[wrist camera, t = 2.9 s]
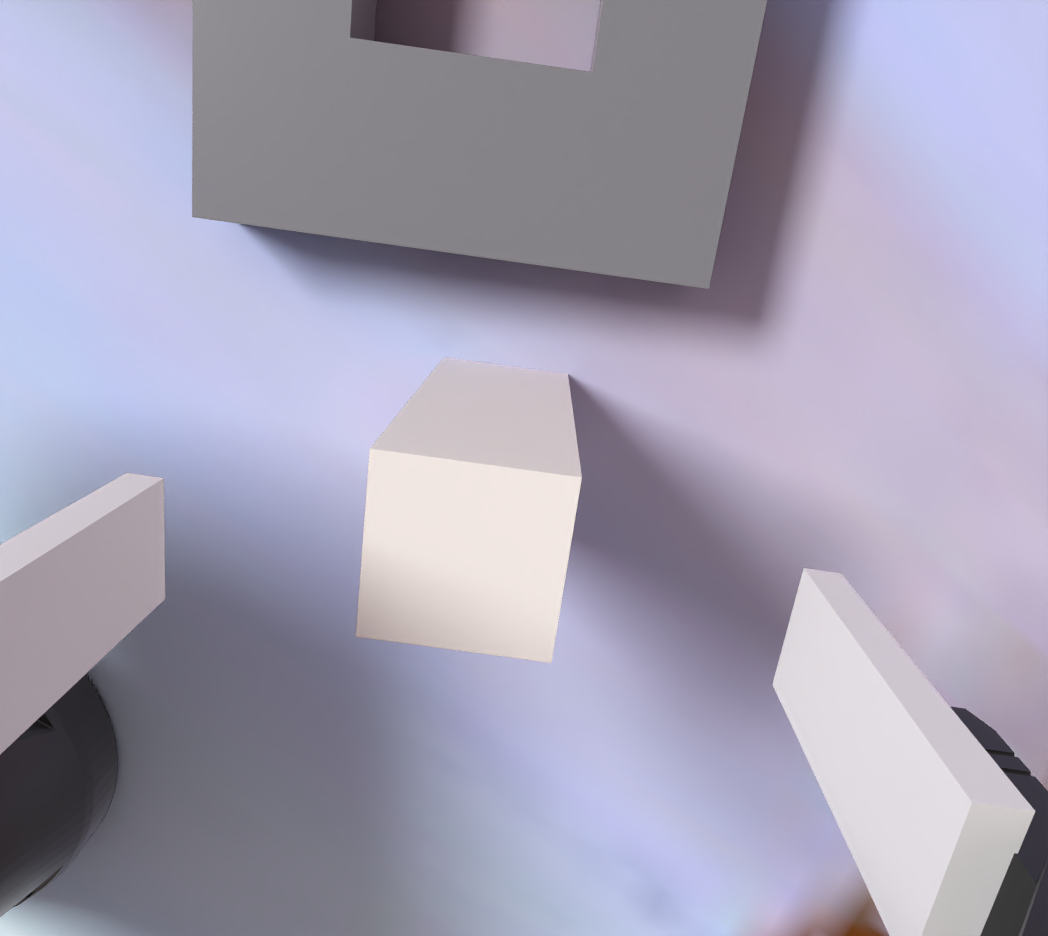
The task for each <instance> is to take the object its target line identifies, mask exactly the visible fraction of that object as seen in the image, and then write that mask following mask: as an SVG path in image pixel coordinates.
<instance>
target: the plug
mask: <svg viewBox="0 0 1048 936" xmlns="http://www.w3.org/2000/svg"><path fill="white" fill-rule="evenodd" d="M581 480H582V474H581V467H580V459H579V452H578V445H577V437H576V430H575V422H574V415H573V408H572V400H571V393H570V385H569V378H568V374H565V373H558V372H551V371H543V370H536V369H529V368H522V367H514V366H507V365H500V364H493V363H485V362H478V361H471V360H464V359H456V358H449V357H444V358H443V359H442V360H441V361H440V362H439V364H438V365H437V366H436V367H435V369H434V370H433V371H432V372H431V374H430V375H429V376H428V377H427V379H426V380H425V381H424V382H423V383H422V385H421V386H420V387H419V388H418V390H417V391H416V392H415V393H414V395H413V396H412V397H411V398H410V400H409V401H408V402H407V403H406V404H405V406H404V407H403V408H402V409H401V411H400V412H399V413H398V414H397V416H396V417H395V418H394V419H393V421H392V422H391V423H390V424H389V426H388V427H387V428H386V429H385V430H384V432H383V433H382V434H381V435H380V437H379V438H378V439H377V440H376V442H375V443H374V444H373V445H372V447H371V448H370V453H369V466H368V480H367V493H366V506H365V520H364V533H363V546H362V559H361V573H360V586H359V599H358V613H357V626H356V637H361V638H369V639H376V640H384V641H391V642H399V643H406V644H414V645H421V646H429V647H436V648H444V649H451V650H459V651H466V652H474V653H481V654H489V655H496V656H504V657H511V658H519V659H526V660H533V661H541V662H548V663H551V662H552V656H553V650H554V644H555V638H556V632H557V626H558V620H559V614H560V608H561V602H562V596H563V589H564V583H565V577H566V571H567V565H568V559H569V553H570V547H571V541H572V535H573V529H574V523H575V517H576V511H577V504H578V498H579V492H580V486H581Z"/></svg>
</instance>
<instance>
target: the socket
mask: <svg viewBox="0 0 1048 936" xmlns="http://www.w3.org/2000/svg"><path fill="white" fill-rule="evenodd" d="M766 4H767V0H601V2H600V9H599V16H598V23H597V29H596V36H595V43H594V50H593V57H592V64H591V71H590V72H588V71H581V70H574V69H567V68H560V67H553V66H546V65H539V64H532V63H525V62H518V61H511V60H504V59H497V58H490V57H483V56H476V55H469V54H462V53H455V52H447V51H440V50H433V49H426V48H419V47H412V46H405V45H398V44H391V43H384V42H377V41H374V36H375V21H376V5H377V0H193V160H192V217H196V218H203V219H211V220H218V221H225V222H232V223H239V224H246V225H254V226H261V227H268V228H275V229H282V230H289V231H297V232H304V233H311V234H318V235H325V236H332V237H340V238H347V239H354V240H361V241H368V242H376V243H383V244H390V245H397V246H404V247H411V248H419V249H426V250H433V251H440V252H447V253H454V254H462V255H469V256H476V257H483V258H490V259H497V260H505V261H512V262H519V263H526V264H533V265H540V266H548V267H555V268H562V269H569V270H576V271H583V272H591V273H598V274H605V275H612V276H619V277H626V278H634V279H641V280H648V281H655V282H662V283H670V284H677V285H684V286H691V287H698V288H705V289H709V286H710V281H711V276H712V271H713V266H714V261H715V257H716V252H717V247H718V242H719V237H720V232H721V227H722V222H723V217H724V212H725V207H726V202H727V197H728V192H729V187H730V182H731V177H732V172H733V167H734V162H735V158H736V153H737V148H738V143H739V138H740V133H741V128H742V123H743V118H744V113H745V108H746V103H747V98H748V93H749V88H750V83H751V78H752V73H753V68H754V63H755V58H756V54H757V49H758V44H759V39H760V34H761V29H762V24H763V19H764V14H765V9H766Z"/></svg>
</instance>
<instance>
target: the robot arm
mask: <svg viewBox="0 0 1048 936" xmlns="http://www.w3.org/2000/svg"><path fill="white" fill-rule="evenodd" d="M164 600H165V535H164V478H160V477H153V476H146V475H139V474H132V473H125V474H124V475H122V476H120V477H118V478H117V479H115V480H113V481H111V482H109V483H108V484H106V485H104V486H102V487H101V488H99V489H97V490H95V491H94V492H92V493H90V494H88V495H87V496H85V497H83V498H81V499H79V500H78V501H76V502H74V503H72V504H71V505H69V506H67V507H65V508H64V509H62V510H60V511H58V512H57V513H55V514H53V515H51V516H49V517H48V518H46V519H44V520H42V521H41V522H39V523H37V524H35V525H34V526H32V527H30V528H28V529H26V530H25V531H23V532H21V533H19V534H18V535H16V536H14V537H12V538H11V539H9V540H7V541H5V542H4V543H2V544H0V917H1V916H2V915H4V914H5V913H6V912H7V911H9V910H10V909H11V908H13V907H15V906H17V905H19V904H21V903H22V902H23V901H25V900H26V899H28V898H29V897H31V896H33V895H35V894H36V893H38V892H39V891H41V890H42V889H44V888H45V887H46V886H48V885H49V884H50V883H51V882H52V881H54V880H55V879H56V878H57V877H58V876H59V875H60V874H61V873H62V872H63V871H64V870H65V869H66V868H67V866H68V865H69V864H70V863H71V862H72V860H73V859H74V858H75V856H76V855H77V854H78V852H79V851H80V850H81V849H82V847H83V846H84V845H85V843H86V842H87V841H88V839H89V838H90V837H91V835H92V834H93V833H94V831H95V830H96V829H97V827H98V826H99V824H100V823H101V821H102V820H103V818H104V816H105V814H106V812H107V810H108V808H109V806H110V803H111V801H112V797H113V794H114V790H115V785H116V779H117V749H116V743H115V738H114V734H113V730H112V726H111V723H110V720H109V717H108V714H107V712H106V710H105V707H104V705H103V703H102V701H101V699H100V697H99V695H98V693H97V692H96V690H95V688H94V687H93V685H92V683H91V682H90V680H89V679H88V678H87V676H86V675H85V674H86V673H87V672H88V671H89V670H90V669H92V668H93V667H94V666H95V665H96V664H97V663H98V662H99V661H100V660H101V659H102V658H103V657H104V656H105V655H106V654H107V653H108V652H110V651H111V650H112V649H113V648H114V647H115V646H116V645H117V644H118V643H119V642H120V641H121V640H122V639H123V638H124V637H125V636H127V635H128V634H129V633H130V632H131V631H132V630H133V629H134V628H135V627H136V626H137V625H138V624H139V623H140V622H141V621H142V620H144V619H145V618H146V617H147V616H148V615H149V614H150V613H151V612H152V611H153V610H154V609H155V608H156V607H157V606H158V605H159V604H160V603H162V602H163V601H164ZM772 685H773V687H774V689H775V691H776V693H777V696H778V698H779V700H780V702H781V704H782V706H783V708H784V711H785V713H786V715H787V717H788V719H789V721H790V723H791V726H792V728H793V730H794V732H795V734H796V736H797V738H798V741H799V743H800V745H801V747H802V749H803V751H804V753H805V755H806V758H807V760H808V762H809V764H810V766H811V768H812V770H813V773H814V775H815V777H816V779H817V781H818V783H819V785H820V788H821V790H822V792H823V794H824V796H825V798H826V800H827V803H828V805H829V807H830V809H831V811H832V813H833V815H834V818H835V820H836V822H837V824H838V826H839V828H840V830H841V833H842V835H843V837H844V839H845V841H846V843H847V845H848V848H849V850H850V852H851V854H852V856H853V858H854V860H855V863H856V865H857V867H858V869H859V871H860V873H861V875H862V878H863V880H864V882H865V884H866V886H867V888H868V890H869V893H870V895H871V897H872V899H873V901H874V903H875V905H876V908H877V910H878V912H879V914H880V916H881V918H882V920H883V922H884V925H885V927H886V929H887V931H888V933H889V935H890V936H1048V791H1047V790H1046V789H1045V788H1044V787H1043V785H1042V784H1041V783H1040V782H1039V781H1038V780H1037V779H1036V777H1033V776H1031V774H1030V773H1031V772H1030V770H1029V769H1028V768H1027V767H1026V766H1025V765H1024V764H1023V762H1022V761H1021V760H1020V759H1019V758H1018V757H1014V752H1013V751H1012V750H1011V749H1010V747H1009V746H1008V745H1007V744H1006V743H1005V742H1004V740H1003V739H1002V738H1001V737H1000V736H999V735H998V734H997V732H996V731H995V730H994V729H992V728H991V727H989V726H988V725H987V724H985V723H984V722H983V721H981V720H980V719H978V718H977V717H976V716H974V715H973V714H972V713H970V712H969V711H967V710H966V709H963V708H956V707H950V706H949V705H948V704H947V702H946V701H945V700H944V699H943V698H942V696H941V695H940V694H939V693H938V691H937V690H936V689H935V688H934V686H933V685H932V684H931V683H930V682H929V680H928V679H927V678H926V677H925V675H924V674H923V673H922V672H921V671H920V669H919V668H918V667H917V666H916V664H915V663H914V662H913V661H912V660H911V658H910V657H909V656H908V655H907V653H906V652H905V651H904V650H903V649H902V647H901V646H900V645H899V644H898V642H897V641H896V640H895V639H894V637H893V636H892V635H891V634H890V633H889V631H888V630H887V629H886V628H885V626H884V625H883V624H882V623H881V622H880V620H879V619H878V618H877V617H876V615H875V614H874V613H873V612H872V611H871V609H870V608H869V607H868V606H867V604H866V603H865V602H864V601H863V600H862V598H861V597H860V596H859V595H858V593H857V592H856V591H855V590H854V589H853V587H852V586H851V585H850V584H849V582H848V581H847V580H846V579H845V577H844V576H843V575H842V574H841V573H835V572H828V571H821V570H814V569H807V568H804V569H803V573H802V576H801V580H800V584H799V588H798V591H797V595H796V599H795V602H794V606H793V610H792V614H791V617H790V621H789V625H788V628H787V632H786V636H785V640H784V643H783V647H782V651H781V655H780V658H779V662H778V666H777V669H776V673H775V677H774V681H773V684H772Z"/></svg>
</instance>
